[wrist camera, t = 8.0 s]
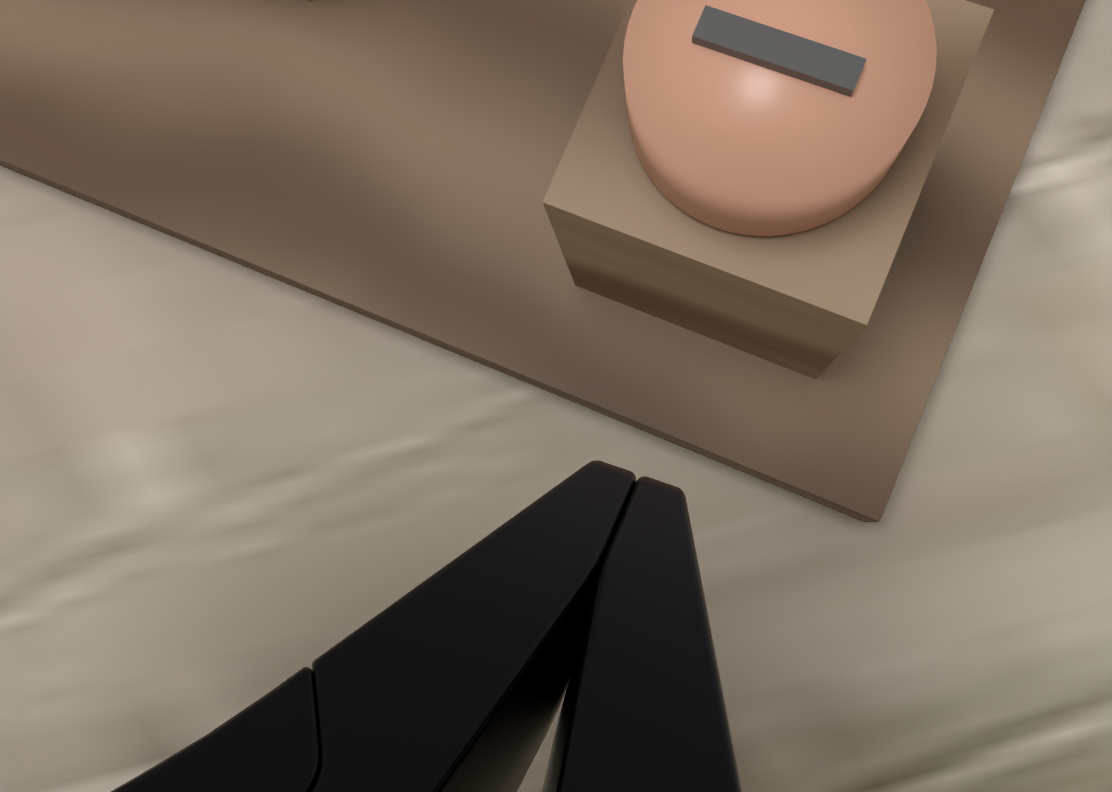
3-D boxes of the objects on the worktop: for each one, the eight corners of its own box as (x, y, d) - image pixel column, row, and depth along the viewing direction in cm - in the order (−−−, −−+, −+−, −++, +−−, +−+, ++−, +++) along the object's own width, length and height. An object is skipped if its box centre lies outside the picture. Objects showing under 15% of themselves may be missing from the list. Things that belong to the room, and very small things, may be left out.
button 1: (848, 276, 15) (871, 243, 13) (585, 179, 16) (574, 135, 14) (951, 23, 15) (987, -44, 14) (689, -61, 16) (692, -136, 14)
